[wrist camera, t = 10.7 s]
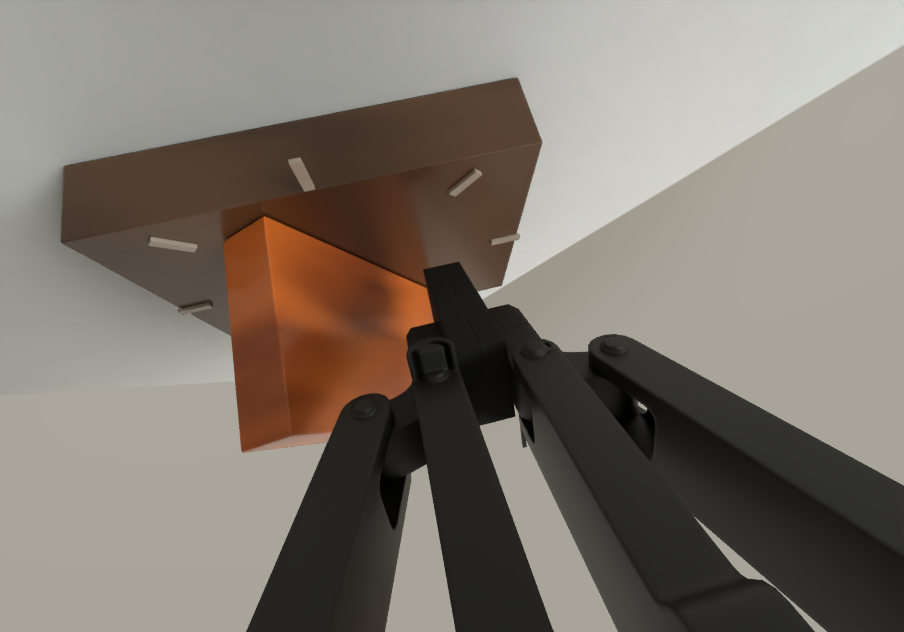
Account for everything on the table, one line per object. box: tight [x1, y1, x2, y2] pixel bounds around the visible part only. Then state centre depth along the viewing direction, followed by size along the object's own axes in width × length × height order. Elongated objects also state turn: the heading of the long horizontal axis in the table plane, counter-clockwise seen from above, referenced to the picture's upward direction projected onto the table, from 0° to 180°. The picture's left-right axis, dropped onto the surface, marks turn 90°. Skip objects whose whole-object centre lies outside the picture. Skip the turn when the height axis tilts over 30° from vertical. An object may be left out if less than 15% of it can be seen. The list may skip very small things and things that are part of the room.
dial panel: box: [61, 78, 542, 336], centre depth 21 cm, size 16×16×3 cm
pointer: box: [223, 216, 434, 453], centre depth 19 cm, size 12×2×8 cm, turn 30°
